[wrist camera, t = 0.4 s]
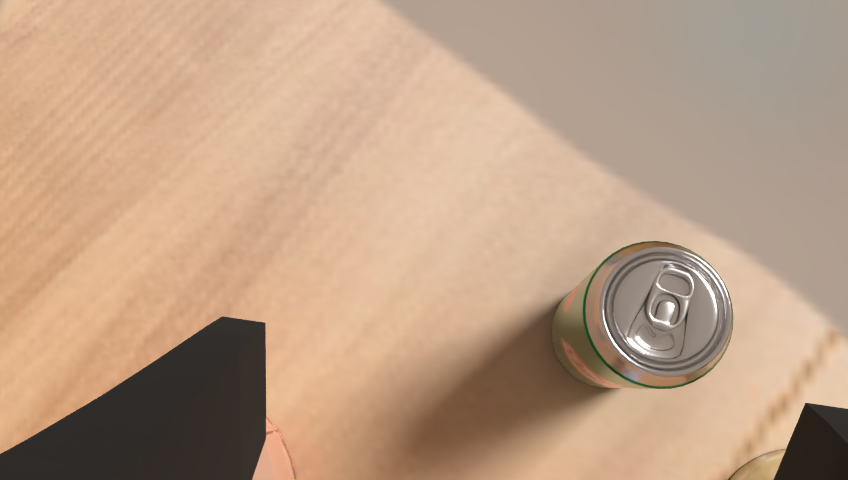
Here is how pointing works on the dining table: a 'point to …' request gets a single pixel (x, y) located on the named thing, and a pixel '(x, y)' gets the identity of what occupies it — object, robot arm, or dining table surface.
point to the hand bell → (761, 467)
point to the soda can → (644, 319)
